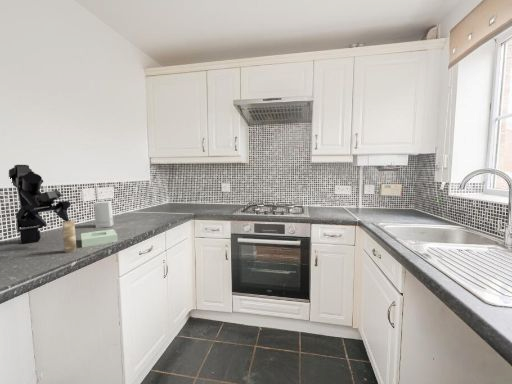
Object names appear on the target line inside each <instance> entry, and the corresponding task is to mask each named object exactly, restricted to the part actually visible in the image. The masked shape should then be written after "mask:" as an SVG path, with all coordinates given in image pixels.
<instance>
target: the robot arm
mask: <svg viewBox="0 0 512 384" xmlns="http://www.w3.org/2000/svg"><path fill="white" fill-rule="evenodd" d="M9 177H10V179H11V178H12V182H11V184H12V183H13V185H12V186H13V187H15V188H16V189H17V195H18V201H19V207H20V208H19V209H18V211H17V212H16V214H15V216H16V217H15V218H16V219H15V223H16V224H15V227H16V231H17V232H19V236H20V238H19V239H20V243H19V244H20V245H23V244H30V243H37V242H39V241H40V240H41V238H42V235H41V230H39V229H42V228H43V227H47V226H48V224H47V222H46V221H45V219H43V217H42V216H41V215H40V213H49V212H52V211H53V212H54V213H55V214H56V215H57V217H59V218H60V219H62V220H63V222H64V221H70V220H69V219H70V218H69V215H68V209H69V208H70V206H71V205H72V204H71V202H70V201H69V200H62V201H58V202H56V205H54V203H55V200H58V199H59V198H61V197H62V193H61V192H60V191H59V190H58V189H57V190H52V191H45V192H43V193H42V191H40V190H41V188H42V187H41V186H42V184H43V183H44V179H43V178H42V176H41V175H40V174H39V173H38V174H37V173H35V171H33V170H32V169H31V168H30V166H29V165H28V164H15V165H14V167H12V168H10V169H9V170H8V178H9Z"/></svg>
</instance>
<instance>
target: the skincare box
mask: <svg viewBox="0 0 512 384" xmlns="http://www.w3.org/2000/svg"><path fill="white" fill-rule="evenodd" d="M93 211H94V221H95V228H96V229H98V228H99V229H100V228H109V227H110V228H111V227H112V226H113V225H114V217H113V216H114V215H113V204H112V200H109V201H108V200H107V201H106V200H105V201H96V202H94V203H93Z"/></svg>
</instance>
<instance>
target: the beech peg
mask: <svg viewBox="0 0 512 384" xmlns="http://www.w3.org/2000/svg"><path fill="white" fill-rule="evenodd" d="M75 223H76V222H75V220H69V221H64V220H63V221H62V235H63V244H64V245H63V246H64V253H67V254H68V253H73V252H74V253H75V252H76V251H77V239H76V238H77V237H76V229H75V228H76V225H75Z"/></svg>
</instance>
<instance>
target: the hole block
mask: <svg viewBox="0 0 512 384" xmlns="http://www.w3.org/2000/svg"><path fill="white" fill-rule="evenodd" d="M80 238H81V247H82V248H86V247H93V246H94V247H95V246H101V245H105V244H106V245H107V244H112V242H113V243H117V241H118V240H119V239H118V233H117V232H116V230H115V229H111V228H110V229H104V230H96V231H89V232H82V233H80Z"/></svg>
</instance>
